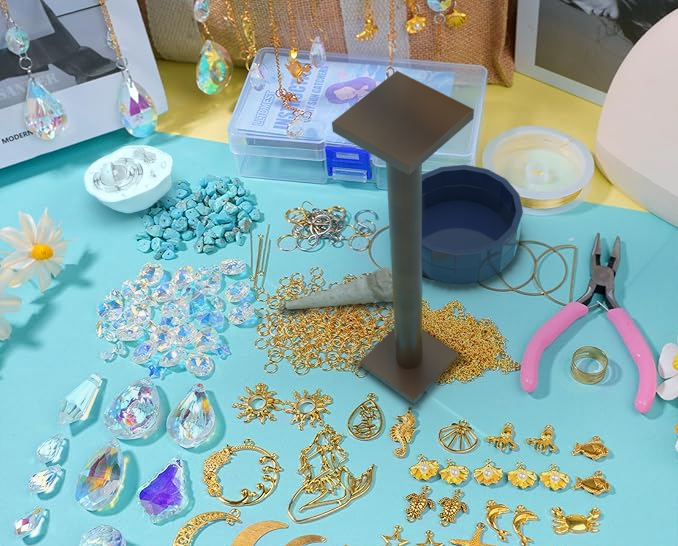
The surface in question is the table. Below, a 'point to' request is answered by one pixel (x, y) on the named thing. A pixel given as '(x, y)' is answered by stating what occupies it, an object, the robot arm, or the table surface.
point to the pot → (468, 224)
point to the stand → (405, 216)
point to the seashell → (351, 292)
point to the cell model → (130, 178)
